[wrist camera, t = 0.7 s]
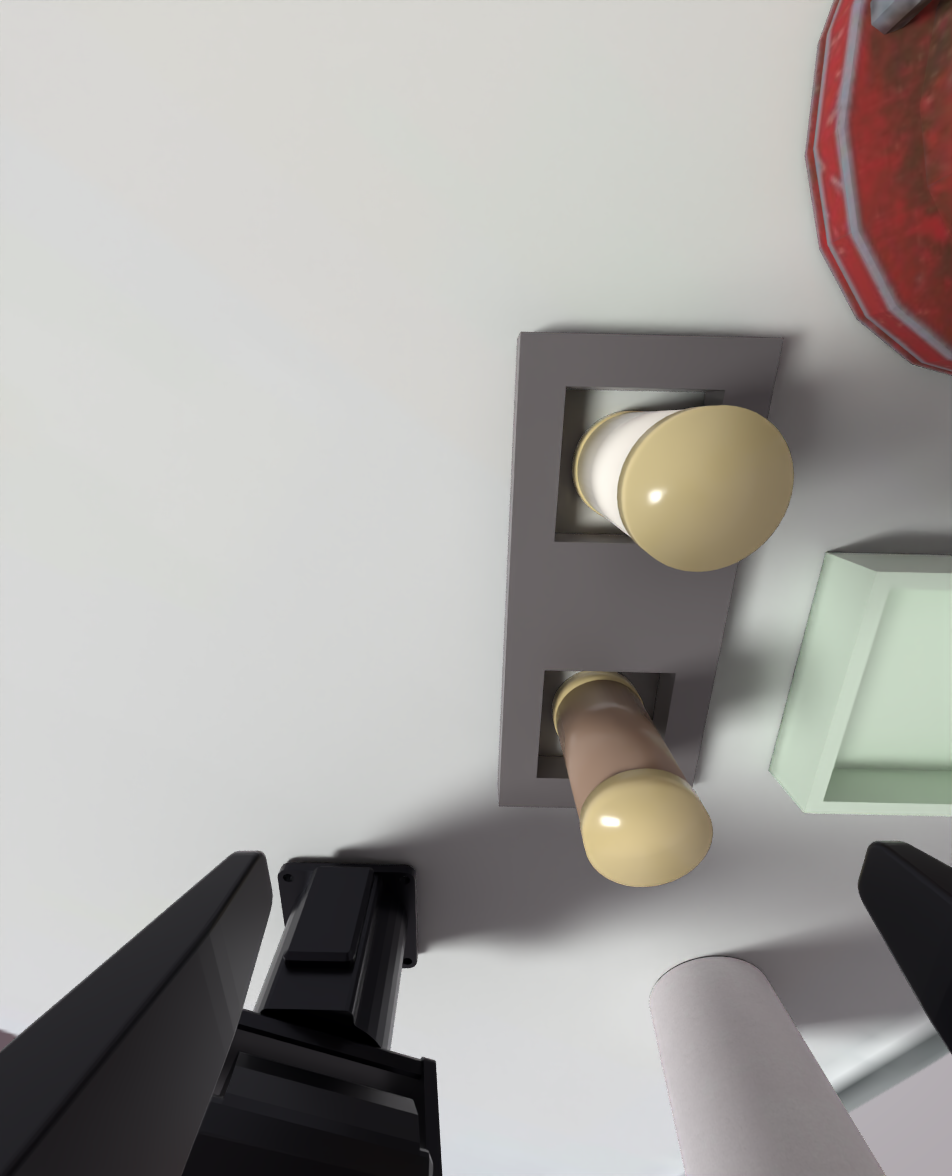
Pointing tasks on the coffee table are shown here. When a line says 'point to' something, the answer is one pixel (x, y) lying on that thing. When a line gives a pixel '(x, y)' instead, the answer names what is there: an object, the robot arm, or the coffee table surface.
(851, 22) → the hourglass
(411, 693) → the coffee table surface
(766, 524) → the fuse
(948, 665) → the parts tray
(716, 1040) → the coffee cup
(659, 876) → the fuse
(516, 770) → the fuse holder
